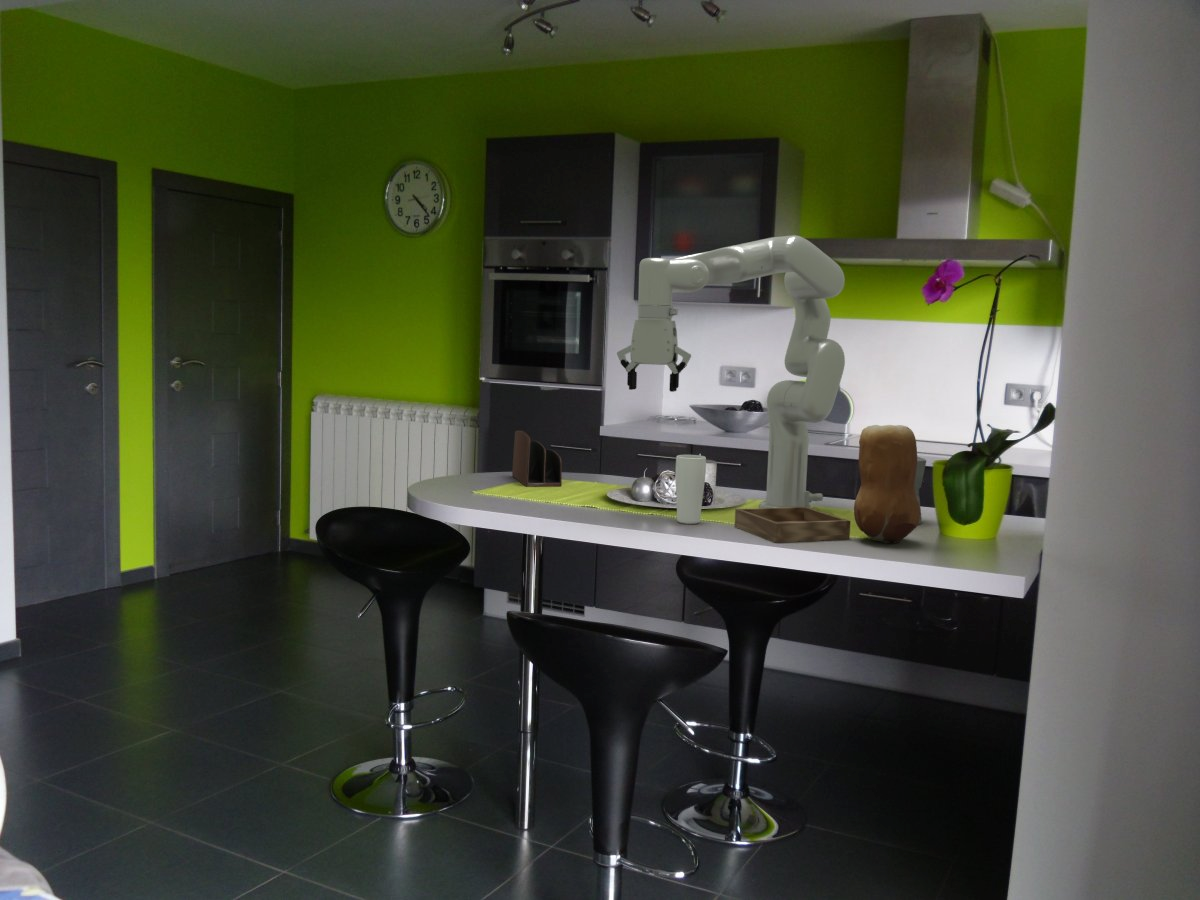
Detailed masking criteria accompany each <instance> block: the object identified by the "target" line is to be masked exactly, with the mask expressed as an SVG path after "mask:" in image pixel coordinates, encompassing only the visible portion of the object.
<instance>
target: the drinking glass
mask: <svg viewBox="0 0 1200 900" xmlns="http://www.w3.org/2000/svg"><path fill="white" fill-rule="evenodd" d="M706 470H707V458H706V456H704V455H699V454H678V455H676V459H675V491H676V492H675V493H676V495H675V496H676V521H677V522H678V523H679V524H685V525H695V524H696V525H697V524H699V523H700V522H701V519H702V518H701V515H702V514H701V513H702V506H703V499H704V490H705V483H706V476H707V475H706V473H707V471H706Z"/></svg>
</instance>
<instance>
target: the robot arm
mask: <svg viewBox="0 0 1200 900" xmlns="http://www.w3.org/2000/svg"><path fill="white" fill-rule="evenodd" d="M638 267H639V269H638V303H637V305H638V306H637V308H638V310H637V319H635V320H634V325H633V328H632V336H631V342H630V345H628V346H626V347H625V348H622V349H621V350H618V351H617V352H616V355H617V358H618V360H619V361H620V362H619V363H620V365H621V366H622V367H623V368H624V369H625V372H627V383H626V384H627V386H628V390H629V391H630V390H636V389H637V386H638V385H637V384H638V382H637V381H638V380H637V378H638V377H637V376H638V372H637V371H636V369H637V368H638V367H639V366H640V365H652V366H653V365H656V366H657V365H661V366H663V365H666V366H667V367H668V368H669V370H670V371H671V373H670V374H669V389H668V390H669V392H672V393H673V392H677V391H678V389H679V385H680V384H679V383H680V382H679V381H680V374H681V373H682V371H683V370H684V369H685V368H687V365H688V363H689V362H690V360H691V357H692V354H691V353H689V352H688V351H686V350H685V349H682V348H681V347H679V344H678V343H679V342H678V330H677V324H676V321H675V320H672V319H673V317H674V316H678V315H679V314H678V311H679V310H678V309H676V308H674V307H673V293H694V292H699V291H700V290H702V289H703V288H704V287H706V286H707V285H723V284H724V285H727V284H734V283H741V282H744V281H745V282H746V281H749V280H755V279H757V278H763V277H767V276H771V275H775V274H782V273H785V275H784V278H783V279H784V288H785V290H786V292H787V294H788V295H789V297H790V299H791V301H792V303H793V305H794V310H795V320H794V324H793V328H792V331H791V334H790V338H789V342H788V344H787V349H786V351H785V352H786V353H785V356H784V367H785V369H786V371H787V373H790V374H791V375H794V376H796V377H801V378H805V381H802V380H801V381H800V380H790V379H789V380H788V379H787V380H780V381H778V382H776V383H775V384H774V385H773V386H772V387H771V388H770V390H769V391H768V393H767V399H766V405H767V407H766V409H767V416H768V423H769V425H768V427H769V434H768V435H769V436H768V455H767V473H766V492H765V493H766V496H765V500H763V501H760V502H759V507H758V508H781V507H808V508H812V505H811V504H810V503H812V502H823V500H824V495H823V493H812V492H810V491H809V490H807V475H808V474H807V472H808V454H809V439H810V438H809V431H808V428H807V424H806V423H810V424H811V423H812V424H815V423H816V424H818V423H821V422H823V421H824V420H826V419H827V417H828V416H829V415H830V414H831V411H832V410H833V407H834V405H835V401H836V398H837V394H838V392H839V388H840V385H841V381H842V377H843V375H844V370H845V364H846V358H845V357H846V356H845V352H844V350H843V347H842V346H841V345H840V343H839V342H837V341H836V340H834V339H832V338H831V339H830V338H828V335H829V331H830V326H831V321H832V320H831V312H830V309H829V306H828V303H827V299H828V300H829V299H832V298H835V297H837V296H838V295H839V294H840V293H842V291H843V290H844V287H845V281H846V278H845V274H844V271H843V269H842V268H841V266H840V265H839V264H838V263H837V262H836V261H834V260H833V259H832V258H831V257H830V256H828V255H827V254H826V253H825V252H823V251H822V250H821V249H820V248H818V246H816V245H815V244H813V243H812V242H811V241H810V240H808V239H806V238H805V237H803V236H800V235H794V234H793V235H784V236H782V235H781V236H775V237H773V236H771V237H768V238H763V239H759V240H758V239H757V240H753V241H750V242H744V243H740V244H736V245H735V244H734V245H728V246H725V247H720V248H717V249H713V250H710V251H704V252H700V253H693V254H689V255H684V256H679V257H674V258H670V259H669V258H664V257H647V258H643V259H641V261H640V262H639V266H638ZM629 353H630V361H628V360H627V358H626V355H628V354H629ZM679 356H680V357H682V359H681V361H680V363H679V364H677V362H678V360H679Z"/></svg>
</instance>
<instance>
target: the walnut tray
mask: <svg viewBox="0 0 1200 900" xmlns="http://www.w3.org/2000/svg"><path fill="white" fill-rule="evenodd" d="M851 523H852V522H851V519H850V520H849V519H845V518H843V517H840V516H836V515H833V514H830V513H827V512H823V511H820V510H818V509H815V508H812V507H811V508H808V507H781V508H760V507H757V508H756V507H754V508H735V512H734V528H736V527H738V528H737V529H739V528H741V529H743V530H742V531H744V530H745V532H747V531H748V532H747V533H749V534H752V535H754V536H757V537H759V538H762V539H765V540H768V541H770V542H773V543H775V544H776V543H777V544H778V543H799V542H798V541H803V542H818V541H819V542H821V540H824V541H840V540H841V541H842V540H843V541H844V540H846V541H847V540H850V538H851V536H850V535H851ZM741 529H740V530H741Z"/></svg>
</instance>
